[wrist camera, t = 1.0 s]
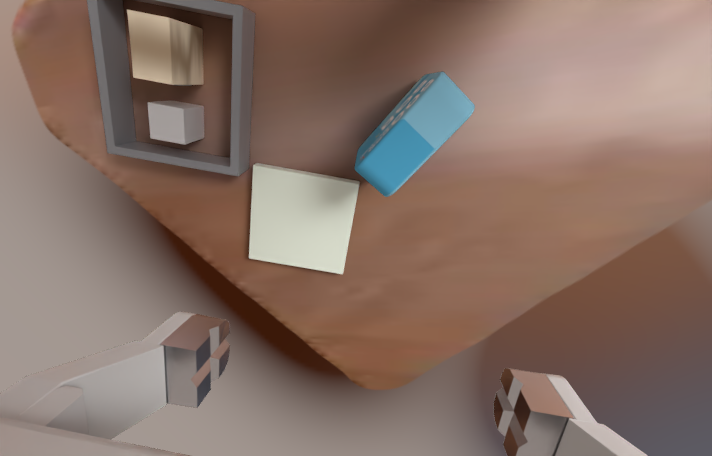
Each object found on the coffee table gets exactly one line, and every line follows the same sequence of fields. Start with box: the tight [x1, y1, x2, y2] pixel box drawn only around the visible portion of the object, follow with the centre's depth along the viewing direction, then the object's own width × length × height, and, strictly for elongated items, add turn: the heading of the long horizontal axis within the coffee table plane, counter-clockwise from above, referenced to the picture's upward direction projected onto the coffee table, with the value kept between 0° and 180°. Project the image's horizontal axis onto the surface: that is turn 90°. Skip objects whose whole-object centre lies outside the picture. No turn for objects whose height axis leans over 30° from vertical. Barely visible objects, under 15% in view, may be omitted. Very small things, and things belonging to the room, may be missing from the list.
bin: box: [87, 0, 255, 176], centre depth 39 cm, size 18×16×4 cm
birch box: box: [127, 10, 204, 86], centre depth 36 cm, size 6×4×7 cm, turn 170°
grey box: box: [148, 100, 204, 145], centre depth 40 cm, size 4×4×5 cm
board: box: [249, 163, 360, 274], centre depth 46 cm, size 14×14×2 cm
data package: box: [355, 72, 475, 197], centre depth 36 cm, size 12×4×12 cm, turn 138°
